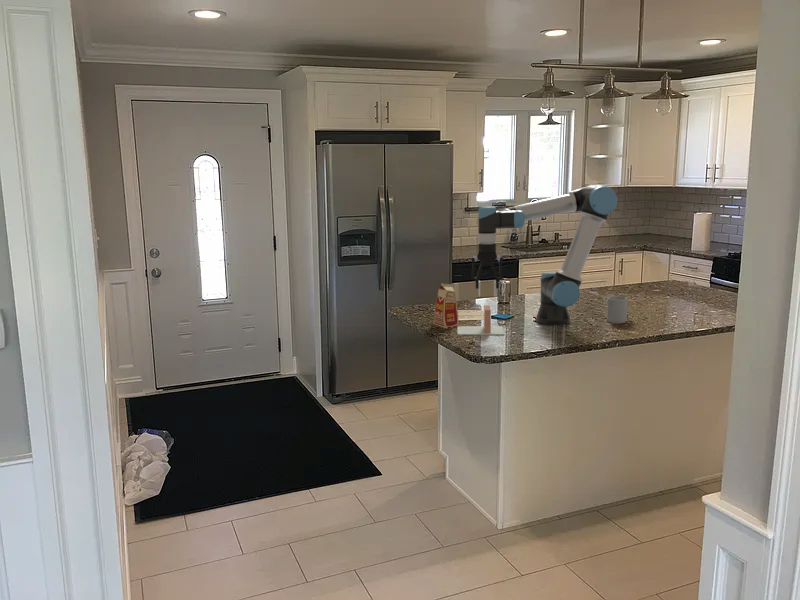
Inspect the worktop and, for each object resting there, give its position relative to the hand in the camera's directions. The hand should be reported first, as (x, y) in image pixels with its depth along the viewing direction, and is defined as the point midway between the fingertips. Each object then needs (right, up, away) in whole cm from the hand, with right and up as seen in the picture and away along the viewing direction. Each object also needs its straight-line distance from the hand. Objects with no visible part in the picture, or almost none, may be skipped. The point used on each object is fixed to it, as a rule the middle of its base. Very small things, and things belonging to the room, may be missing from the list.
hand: (487, 295), depth 295 cm
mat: (-3, -16, +3) cm, 16 cm away
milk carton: (-17, -14, +16) cm, 27 cm away
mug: (+63, -12, +17) cm, 66 cm away
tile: (0, -15, +3) cm, 15 cm away
